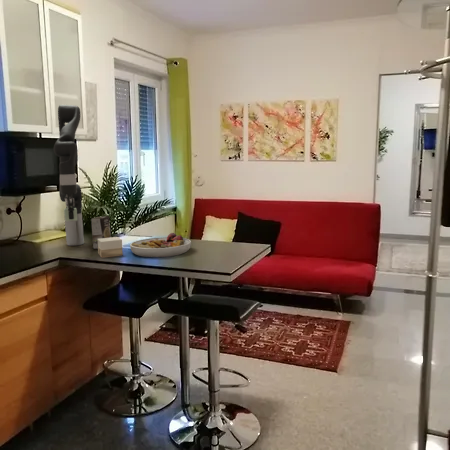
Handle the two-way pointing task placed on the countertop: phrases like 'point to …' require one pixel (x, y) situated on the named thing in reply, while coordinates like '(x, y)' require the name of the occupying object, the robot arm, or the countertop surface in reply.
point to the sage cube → (66, 215)
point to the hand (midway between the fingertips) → (70, 218)
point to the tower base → (110, 252)
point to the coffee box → (100, 229)
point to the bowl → (161, 246)
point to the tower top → (109, 243)
